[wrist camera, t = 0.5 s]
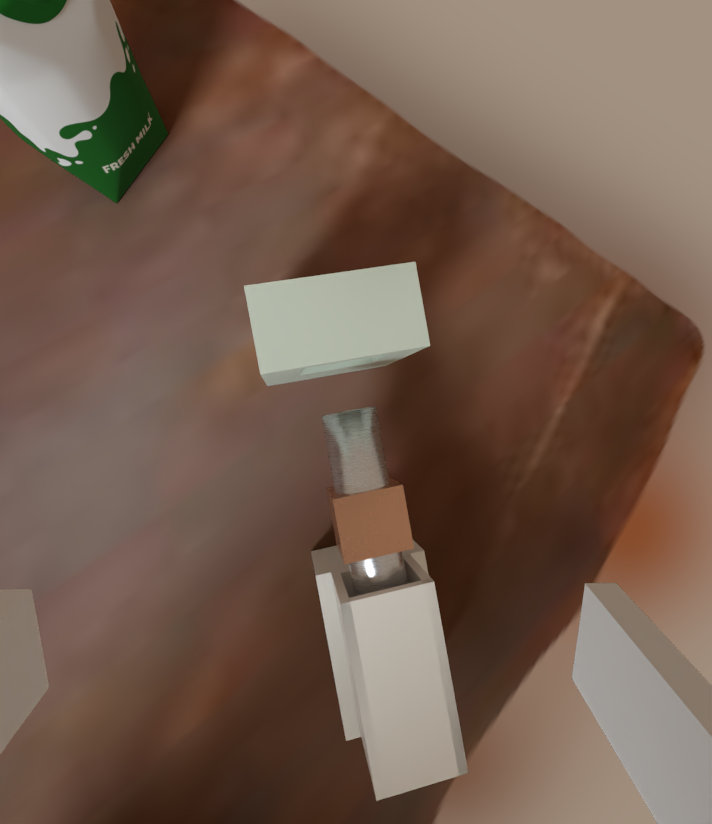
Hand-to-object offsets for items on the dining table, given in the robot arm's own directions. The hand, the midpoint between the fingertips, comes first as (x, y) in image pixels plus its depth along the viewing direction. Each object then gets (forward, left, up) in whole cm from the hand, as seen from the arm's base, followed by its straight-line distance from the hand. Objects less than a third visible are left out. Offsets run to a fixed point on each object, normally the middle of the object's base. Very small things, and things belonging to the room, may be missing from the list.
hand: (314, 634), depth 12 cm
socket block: (+10, -4, -29) cm, 31 cm away
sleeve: (-12, -4, -29) cm, 31 cm away
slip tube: (-5, -4, -22) cm, 23 cm away
